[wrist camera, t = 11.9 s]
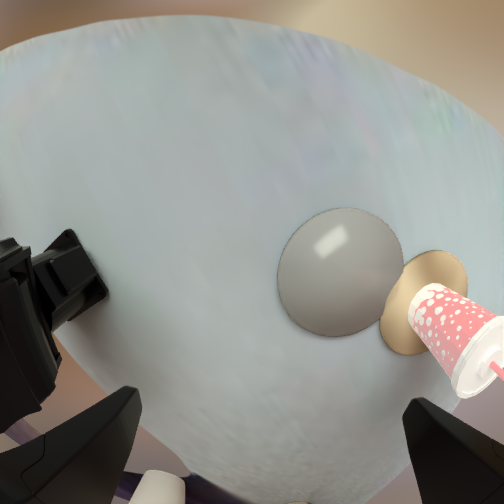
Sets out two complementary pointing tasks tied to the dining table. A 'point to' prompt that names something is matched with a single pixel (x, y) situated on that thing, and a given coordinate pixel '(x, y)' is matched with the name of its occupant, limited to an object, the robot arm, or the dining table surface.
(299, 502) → the ceramic cup
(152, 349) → the dining table surface
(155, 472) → the foam cup
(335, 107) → the dining table surface
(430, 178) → the dining table surface
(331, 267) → the grey dome cap
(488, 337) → the beverage cup
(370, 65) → the dining table surface
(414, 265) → the shiny gold rounded object
